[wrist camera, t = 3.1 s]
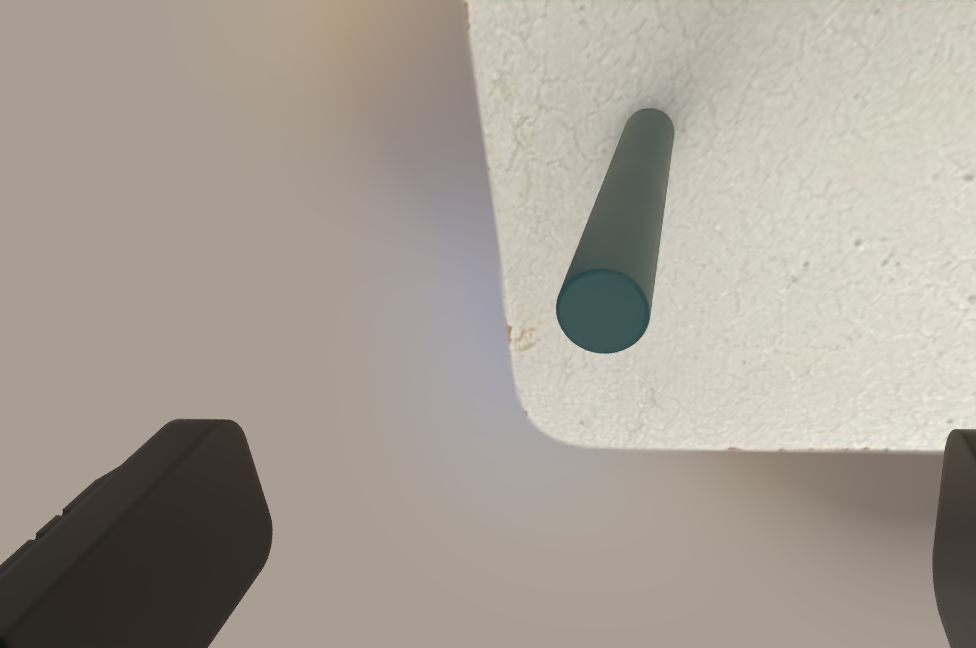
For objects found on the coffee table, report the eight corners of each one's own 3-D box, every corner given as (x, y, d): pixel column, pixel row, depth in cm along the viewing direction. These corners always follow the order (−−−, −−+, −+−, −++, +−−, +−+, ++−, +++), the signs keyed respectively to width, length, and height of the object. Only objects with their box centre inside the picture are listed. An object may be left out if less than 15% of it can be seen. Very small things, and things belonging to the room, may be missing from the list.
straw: (625, 159, 26) (560, 356, 14) (622, 110, 25) (550, 271, 13) (675, 155, 26) (652, 355, 13) (673, 105, 25) (647, 267, 13)
